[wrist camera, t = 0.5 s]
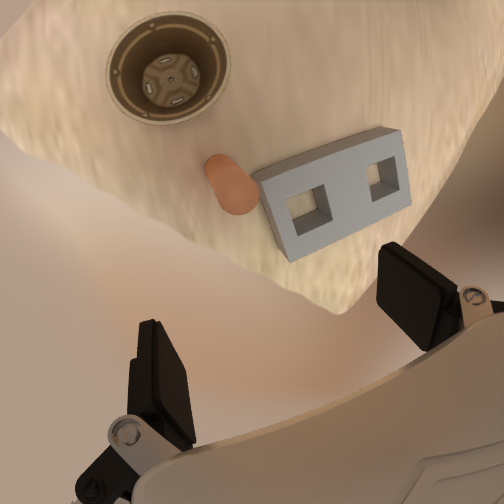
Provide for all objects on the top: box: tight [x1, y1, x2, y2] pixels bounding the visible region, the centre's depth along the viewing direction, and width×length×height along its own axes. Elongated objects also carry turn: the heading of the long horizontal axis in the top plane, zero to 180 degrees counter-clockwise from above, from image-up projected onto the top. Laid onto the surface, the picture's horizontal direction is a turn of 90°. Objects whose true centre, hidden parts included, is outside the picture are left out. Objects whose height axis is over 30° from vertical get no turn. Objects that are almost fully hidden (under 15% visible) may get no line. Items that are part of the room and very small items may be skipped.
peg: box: [205, 155, 259, 215], centre depth 25 cm, size 3×3×11 cm
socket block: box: [251, 127, 411, 263], centre depth 32 cm, size 18×10×4 cm, turn 111°
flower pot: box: [106, 11, 231, 125], centre depth 21 cm, size 9×9×9 cm
